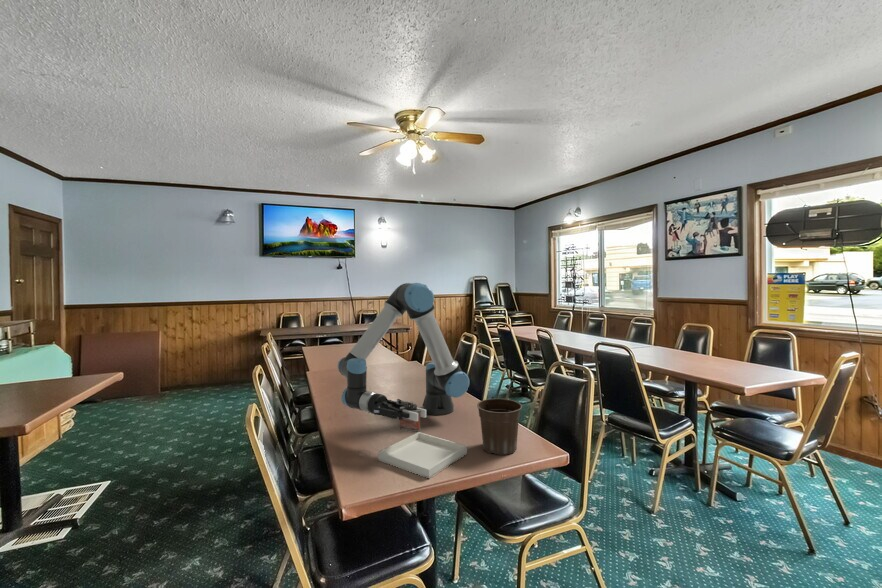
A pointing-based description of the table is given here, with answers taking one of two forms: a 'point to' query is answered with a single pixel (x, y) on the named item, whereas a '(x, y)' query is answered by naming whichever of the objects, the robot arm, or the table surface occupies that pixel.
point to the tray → (422, 454)
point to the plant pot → (499, 425)
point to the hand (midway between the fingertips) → (421, 415)
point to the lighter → (407, 423)
